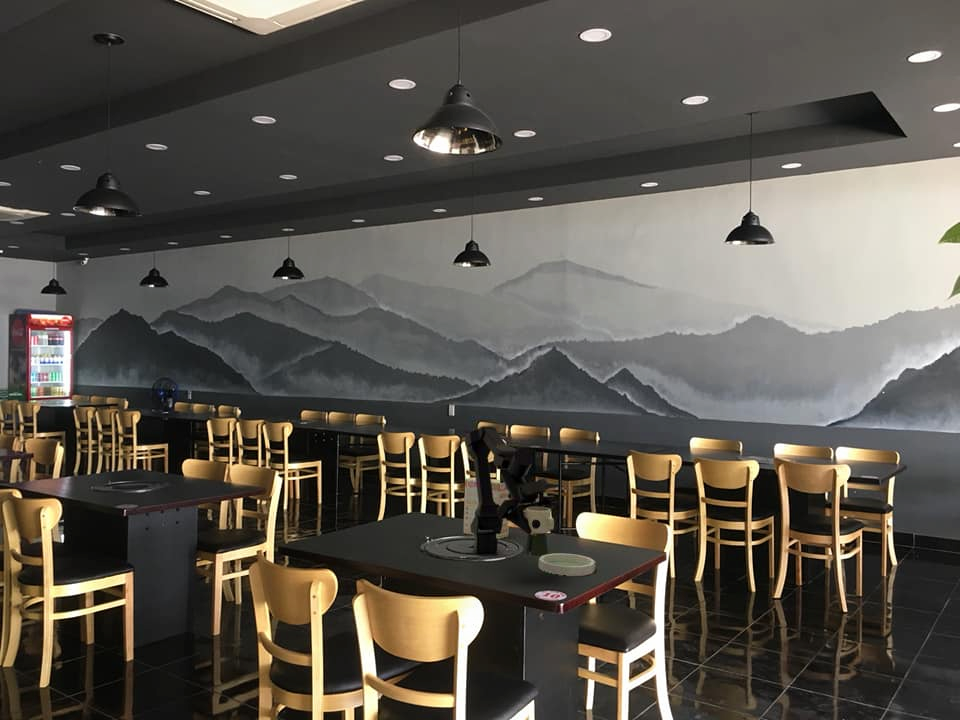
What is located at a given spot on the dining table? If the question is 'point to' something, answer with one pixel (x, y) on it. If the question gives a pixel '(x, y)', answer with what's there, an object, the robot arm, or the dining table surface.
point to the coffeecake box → (472, 502)
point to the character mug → (538, 529)
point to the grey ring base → (567, 564)
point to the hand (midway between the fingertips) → (540, 532)
